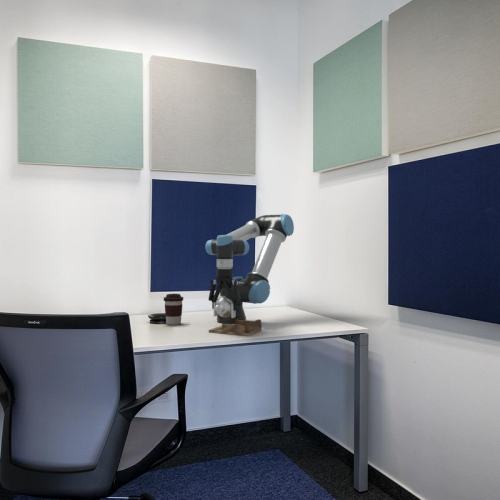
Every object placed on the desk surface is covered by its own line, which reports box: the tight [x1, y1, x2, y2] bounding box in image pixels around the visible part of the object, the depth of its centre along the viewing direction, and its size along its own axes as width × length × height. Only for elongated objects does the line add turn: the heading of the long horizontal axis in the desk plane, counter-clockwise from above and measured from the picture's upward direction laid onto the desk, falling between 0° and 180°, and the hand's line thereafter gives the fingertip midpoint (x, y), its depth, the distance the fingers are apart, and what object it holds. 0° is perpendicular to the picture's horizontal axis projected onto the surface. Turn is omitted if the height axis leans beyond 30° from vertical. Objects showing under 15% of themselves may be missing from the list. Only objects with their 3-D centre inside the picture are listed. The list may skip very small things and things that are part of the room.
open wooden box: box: [208, 319, 262, 337], centre depth 218 cm, size 20×14×5 cm
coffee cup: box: [163, 293, 184, 326], centre depth 239 cm, size 10×10×15 cm
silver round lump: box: [213, 295, 233, 317], centre depth 220 cm, size 9×10×10 cm
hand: (224, 316), depth 220 cm, fingers closed on silver round lump, 9 cm apart
